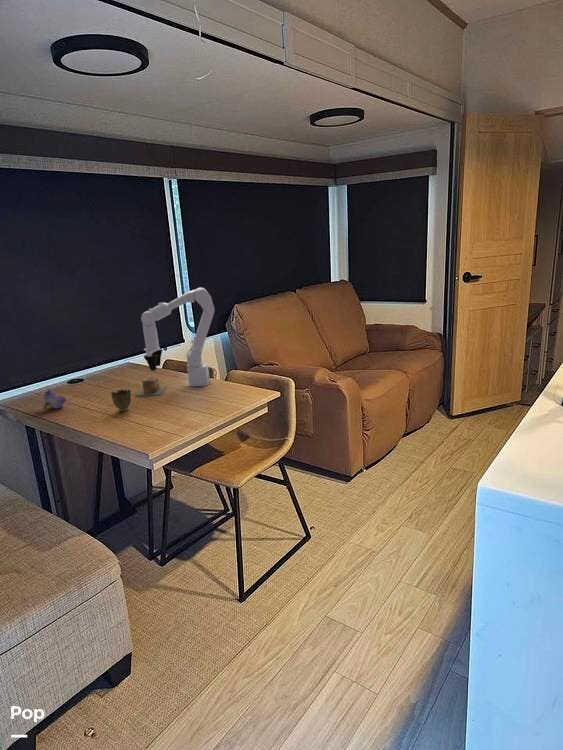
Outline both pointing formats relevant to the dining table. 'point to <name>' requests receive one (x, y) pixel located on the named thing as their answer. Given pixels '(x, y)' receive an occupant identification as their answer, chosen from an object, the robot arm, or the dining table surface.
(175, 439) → the dining table surface
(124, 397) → the cup
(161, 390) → the mat
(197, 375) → the robot arm
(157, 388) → the walnut cube
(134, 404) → the dining table surface
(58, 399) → the flower
